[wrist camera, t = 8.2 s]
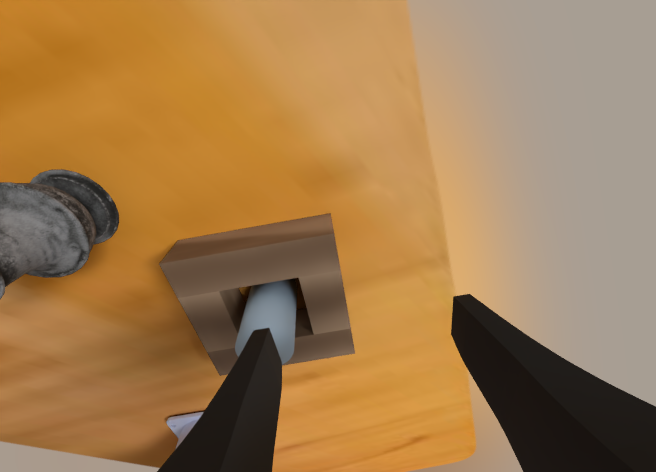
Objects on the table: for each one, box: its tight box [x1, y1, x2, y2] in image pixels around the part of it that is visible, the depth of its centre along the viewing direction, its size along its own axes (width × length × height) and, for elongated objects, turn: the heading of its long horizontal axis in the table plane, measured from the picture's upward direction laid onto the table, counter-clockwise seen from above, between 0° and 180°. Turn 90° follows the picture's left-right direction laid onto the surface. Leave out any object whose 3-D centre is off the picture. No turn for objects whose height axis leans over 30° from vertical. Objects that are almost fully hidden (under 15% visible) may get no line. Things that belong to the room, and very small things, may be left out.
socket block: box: [159, 213, 355, 376], centre depth 22 cm, size 11×11×3 cm
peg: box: [235, 278, 297, 365], centre depth 20 cm, size 4×4×6 cm
